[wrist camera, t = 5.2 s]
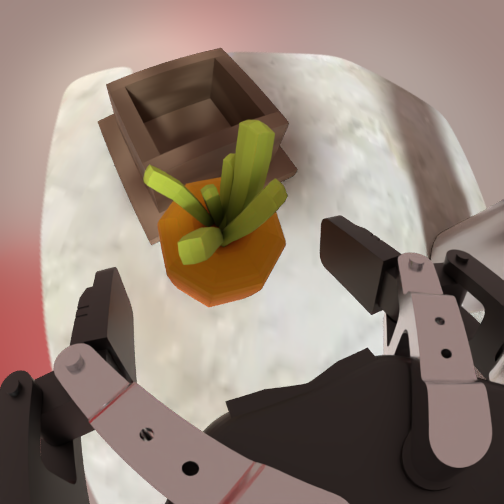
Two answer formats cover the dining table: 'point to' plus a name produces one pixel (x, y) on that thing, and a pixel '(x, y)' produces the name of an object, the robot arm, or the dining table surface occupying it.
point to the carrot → (223, 223)
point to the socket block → (184, 126)
